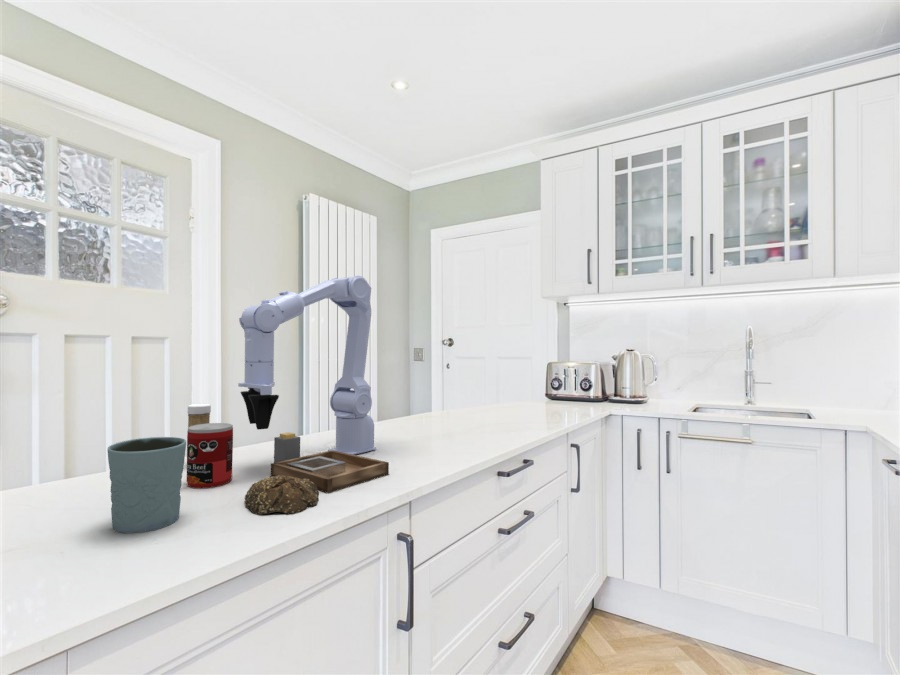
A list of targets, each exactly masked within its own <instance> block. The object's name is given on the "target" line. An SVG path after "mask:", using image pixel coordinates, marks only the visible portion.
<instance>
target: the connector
mask: <svg viewBox="0 0 900 675" xmlns="http://www.w3.org/2000/svg"><path fill="white" fill-rule="evenodd" d="M273 449H274V450H273V463H276V462H281V461H285V460H290V459H294V458H299V457H301V437H300V436H296V433H295V432H283V433H279V436H275V437H274V444H273Z"/></svg>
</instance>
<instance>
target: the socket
mask: <svg viewBox="0 0 900 675" xmlns="http://www.w3.org/2000/svg"><path fill="white" fill-rule="evenodd" d="M287 466H289V467H293V468H296V469H300V470H304V471H308V472H311V473H315V474H319V475H322V476H326V477H328V476H332V475H336V474H339V473H343V472H346V462H343V461H339V460H334V459H330V458H326V457H322V456H318V457H314V458H309V459H305V460H300V461H296V462H292V463H287Z"/></svg>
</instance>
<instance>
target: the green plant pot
mask: <svg viewBox="0 0 900 675" xmlns="http://www.w3.org/2000/svg"><path fill="white" fill-rule="evenodd" d="M186 450H187V440H186V439H185V438H181V437H176V436H175V437H173V436H153V437H152V436H151V437H142V438H141V437H140V438H133V439H127V440H122V441H119V442H116V443H113V444H111V445H109V446H108V447H107V460H108V461H107V462H108V467H109V479H110V501H111V508H110V510H111V511H110V512H111V514H110V515H111V527H112V529H113V531H115V532H118V533H121V534H137V533H147V532H151V531H155V530H159V529H162V528H163V529H164V528H166V527H167V526H168V527H169V526H170V525H172V524H174V523H176V522H178V520H179V517H180V512H181V508H180V507H181V499H182V498H181V489H182V488H181V487H182V485H183V484H182V477H183V473H184V472H183V471H184V466H185V459H186V458H185V456H186Z"/></svg>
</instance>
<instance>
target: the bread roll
mask: <svg viewBox="0 0 900 675" xmlns="http://www.w3.org/2000/svg"><path fill="white" fill-rule="evenodd" d="M319 494H320V491H319V490H318V488H317V487H316V485H315V484H314V483H313V482H312V481H310V480H309V479H300V478H294V477H291V476H284V475H277V476H274V477H273V476H268V477H265V478H264V479H260V480H258V481H256V482H254V483H252V484H251V485H250V487H249V489H247V491H246V494H245V495H244V505H245V507H246V509H249V510H250V511H251V512H252V514H255V515H258V516H259V515H260V516H263V515H267V514H273V513H284V514H285V515H295V514H299V513H301V512H302V513H303V512H304V511H306V510H307V509H308V508H311V506H312V507H314V506H316V505H317V504H318V502H319V501H320V500H319V498H320V497H319ZM307 507H308V508H307Z"/></svg>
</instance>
